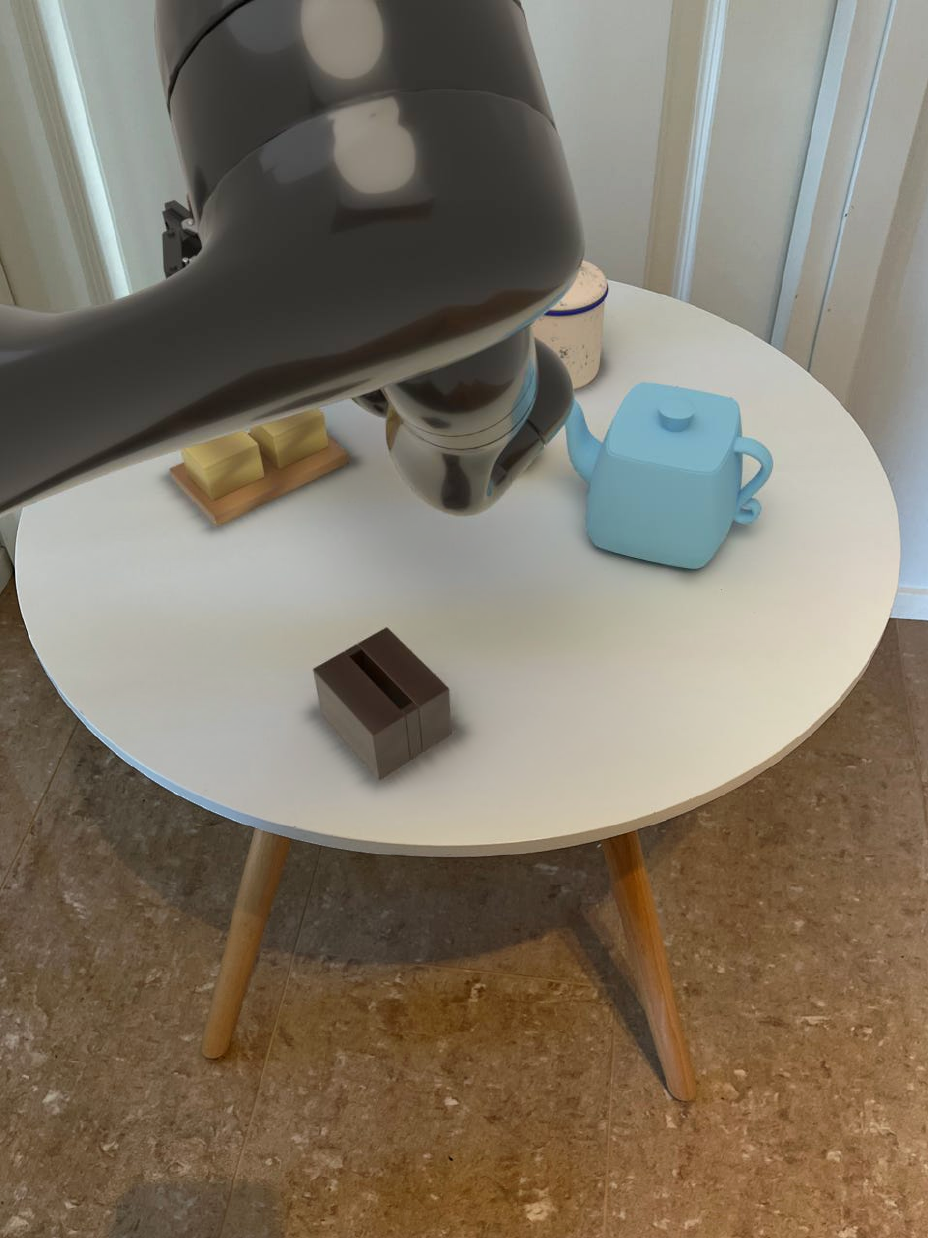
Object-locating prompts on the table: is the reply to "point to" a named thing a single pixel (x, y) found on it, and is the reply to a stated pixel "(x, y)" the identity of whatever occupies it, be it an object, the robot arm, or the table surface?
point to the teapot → (667, 474)
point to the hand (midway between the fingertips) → (191, 207)
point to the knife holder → (383, 702)
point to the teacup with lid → (577, 325)
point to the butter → (257, 465)
